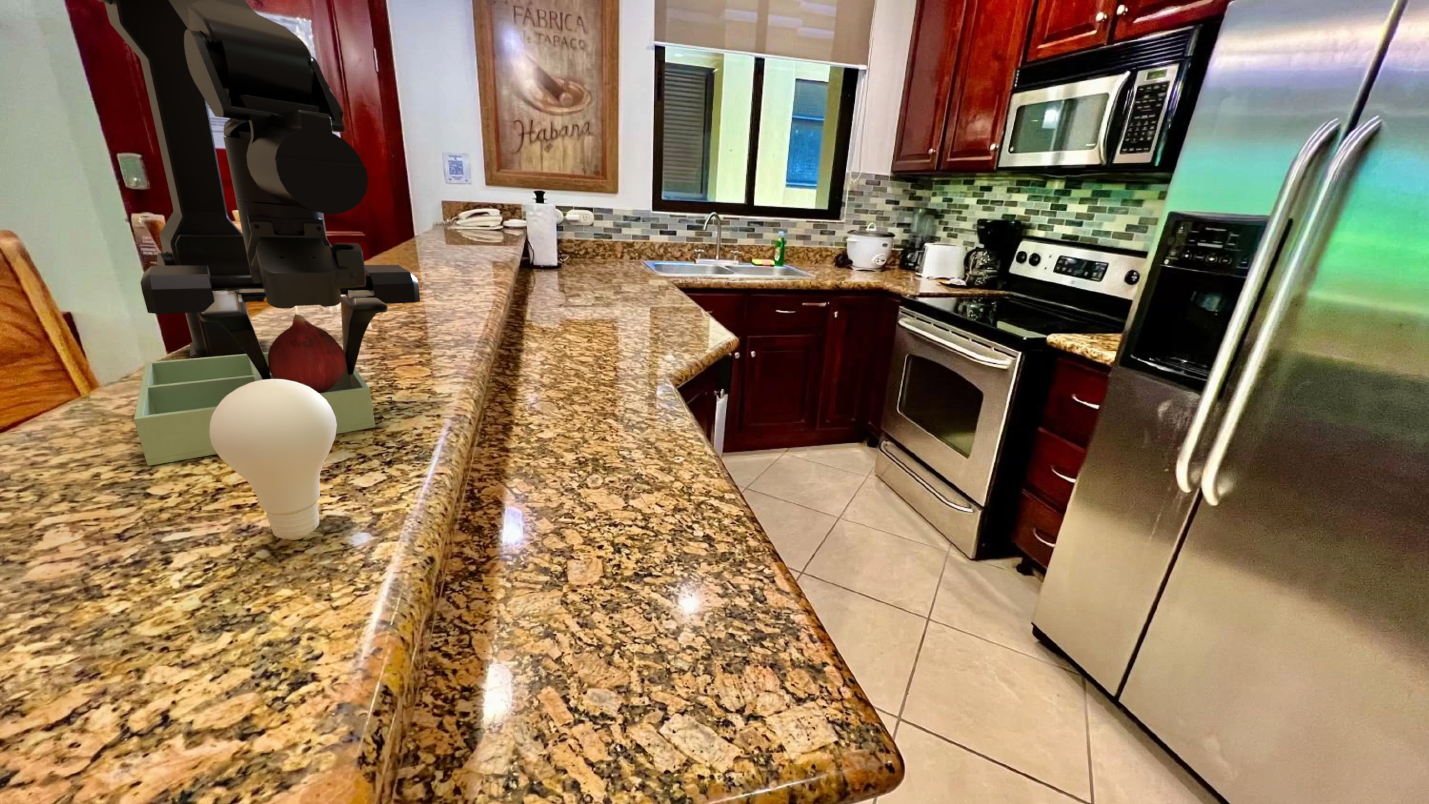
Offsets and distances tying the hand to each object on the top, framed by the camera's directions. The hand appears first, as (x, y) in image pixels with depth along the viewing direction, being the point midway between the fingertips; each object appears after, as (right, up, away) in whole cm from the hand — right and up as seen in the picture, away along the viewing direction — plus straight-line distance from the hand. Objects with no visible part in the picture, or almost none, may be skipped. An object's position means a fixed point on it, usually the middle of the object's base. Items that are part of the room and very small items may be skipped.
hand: (310, 378), depth 51 cm
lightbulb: (+10, -11, -15) cm, 21 cm away
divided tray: (-6, -3, +2) cm, 7 cm away
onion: (0, -2, +1) cm, 2 cm away
